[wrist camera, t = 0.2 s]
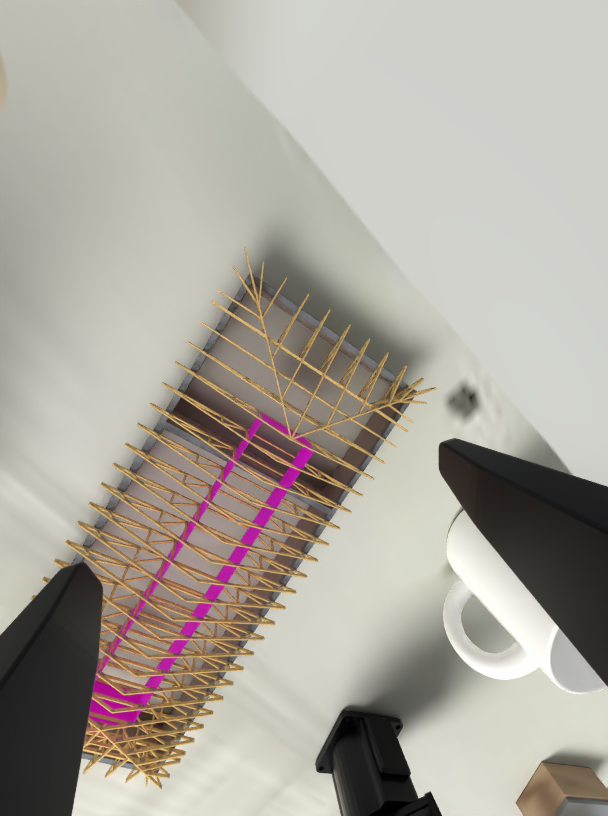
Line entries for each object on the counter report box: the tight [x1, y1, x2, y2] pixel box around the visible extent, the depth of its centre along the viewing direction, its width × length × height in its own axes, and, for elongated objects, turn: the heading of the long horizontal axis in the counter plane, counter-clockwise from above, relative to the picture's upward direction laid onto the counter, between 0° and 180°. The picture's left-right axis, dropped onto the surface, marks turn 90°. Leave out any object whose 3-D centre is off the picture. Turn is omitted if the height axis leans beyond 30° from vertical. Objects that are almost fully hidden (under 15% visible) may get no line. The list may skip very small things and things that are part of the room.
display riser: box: [516, 762, 608, 816], centre depth 39 cm, size 6×8×3 cm
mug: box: [443, 510, 608, 694], centre depth 25 cm, size 12×8×10 cm
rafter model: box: [31, 248, 437, 790], centre depth 22 cm, size 35×14×6 cm, turn 147°
